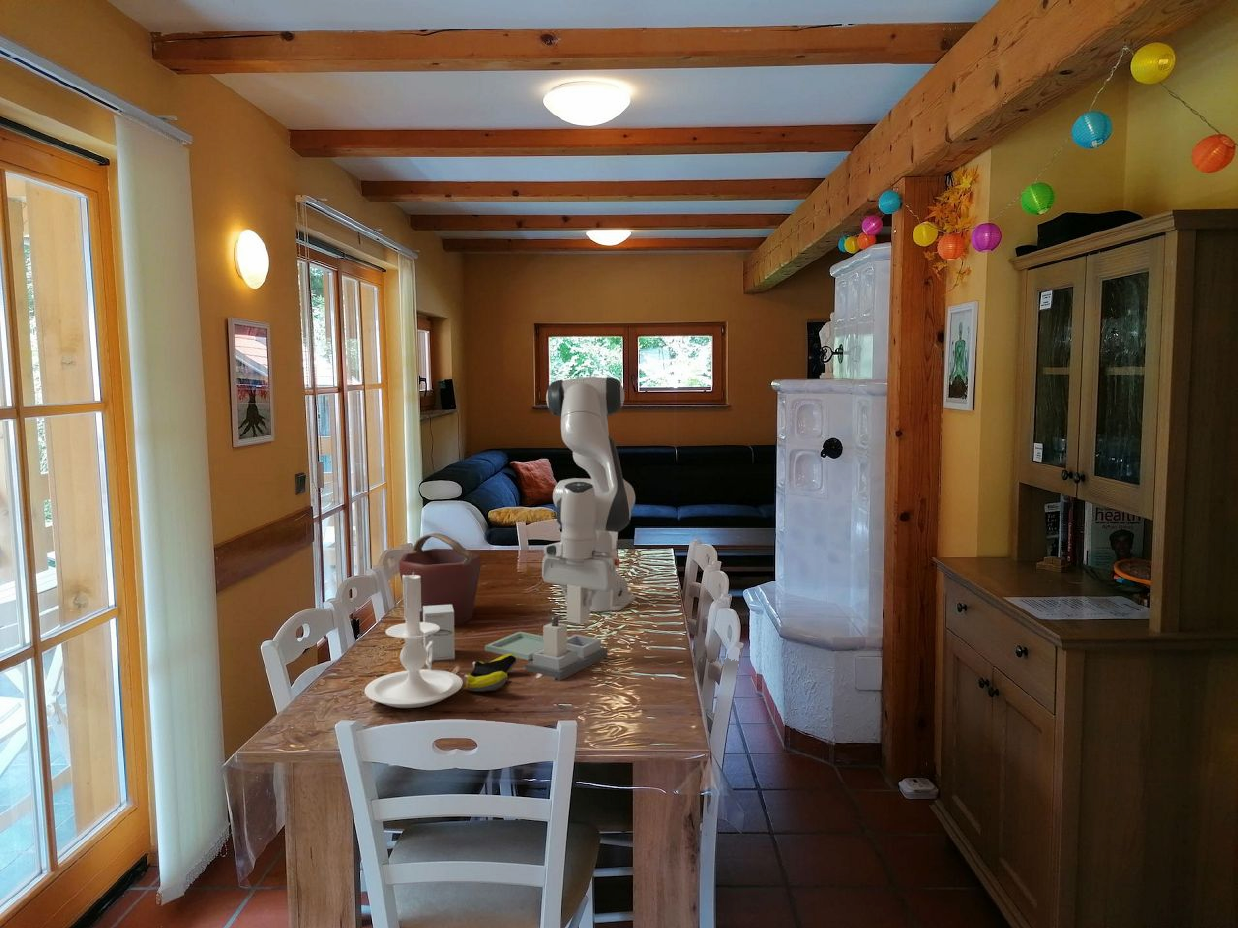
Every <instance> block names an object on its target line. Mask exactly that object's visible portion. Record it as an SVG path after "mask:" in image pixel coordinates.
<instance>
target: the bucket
mask: <svg viewBox="0 0 1238 928" xmlns="http://www.w3.org/2000/svg"><path fill="white" fill-rule="evenodd" d="M430 538H434V539H435V538H436V539H438V540H439V541H442V542H444V543H445V544H447V545H448V546H450V549H449V548H447V549H445V548H433V549H425V550H423V549H422V548H423V547H424V545H425V544H426V541H428V540H430ZM481 557H482V556H481V555H480V554H477V553H476V552H473V551H472V550H469V549H467V548H465V547H464V546H462V544H461V543H460V542H458V541H457V540H455V539H453V538H452V537H450V536H447V535H445V534H442V533H437V532H435V533H429V534H428V533H427V534H425V535H423V536H421V537H419V538H418V539H417V540H416V541H415V543H414V545H413V546H412V552H409V553H408V552H407V553H404V554H403V555H402V557H401V558H400V559H399V561H398V566H399V567H398V568H399V569H398V570H399V571H398V572H399V577H400V579H401V580H400V581H401V584H402V586H403V577H402V575H418V576H421V577H420V580H421V609H422V611H420V622H423V606H435V605H451V604H452V606H453V610H454V626H456V627H459V626H461V625H463V624H465V623H466V621H467V620H469V619H471V620H472V617H473V612H474V605H475V601H476V595H477V594H476V593H477V588H478V584H479V580H480V579H479V578H480V573H481V567H482V565H481V564H482V563H481V561H482V559H481ZM413 573H414V574H413ZM469 621H470V620H469ZM464 622H465V623H464ZM467 622H468V621H467ZM462 623H463V624H462ZM460 624H461V625H460ZM458 625H459V626H458Z"/></svg>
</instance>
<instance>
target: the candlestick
mask: <svg viewBox="0 0 1238 928" xmlns="http://www.w3.org/2000/svg"><path fill="white" fill-rule="evenodd" d="M413 574H414V573H413ZM402 577H403V585H402V597H403V619H404V620H405V622H404V623H398V624H395V625H392V626H390V627H388V628H387V629H386V630H385V631H384V632H385V634H386V635H387V636H389V637H393V638H398V639H403V640H404V645H403V647H402V649H401V651H400V654H399V660H400V663H401V665H402V666H403V667H404V669H405V670H402V671H396V672H392V673H388V674H386V675H385V674H384V675H382V676H380V677H378V678H375V679H374V680H372V681H370V682H369V683H368V684H367V685H366V687H365V688H364V695H365V696H366V697H367V698H368V699H370V700H371V701H375V702H377V703H380V704H383V705H386V706H389V707H392V708H393V707H394V708H397V709H398V708H399V709H412V708H415V709H416V708H422V707H427V706H430V705H434V704H436V703H439V702H441V701H443V700H445V699H447V698H448V697H450V696H452V695H454V694H455V693H457V692H458V691H459V690H460V689H461V688H462V686H463V684H464V682H463V679H462V678H461V677H460V676H459V675H458V674H455V673H454V672H453V673H452V672H451V671H446V670H442V669H440V670H439V669H432V663H433V662H432V659H433V641H430V642H429V644H428V645H427V646H426V649H425V647H424V644H423V642H422V640H423V637H424V636H428V635H431V634H434V633H436V632H438V631H439V630H440V627H439V626H438V625H436V624H433V623H428V622H420V611H422V609H421V580H420V577H421V576H418V575H402ZM428 656H429V657H428ZM424 665H426V666H427V668H424V669H423V667H424Z"/></svg>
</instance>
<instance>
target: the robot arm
mask: <svg viewBox="0 0 1238 928" xmlns="http://www.w3.org/2000/svg"><path fill="white" fill-rule="evenodd" d="M548 385H549V386H548V387H547V388H548V389H547V391H546V395H545V396H546V398H545V401H546V405H547V407H548V410H549V412H550V413H551V414H552V415H553V416H554V417H560V434H561V439H562V442H563V443H564V445H565V446H566V447H567V448H568V449H570V451H572V458H573V461H574V462H575V463H576V465H577V466H578V467H580V468H582V469H583V470H585V472H587V474H588V475H589V476H590V478H583V477H581V478H576V477H572V478H567V479H566V478H565V479H562V480H559V482H557V483H556V484H555V487H554V488H553V492H552V500H553V504H554V506H555V507H556V523H558V525H559V526H561V533H560V541H557V542H554V543H551V544H547V545H545V546H544V547H543V554H544V556H543V558H542V563H541V577H542V580H543V581H544V582H545V583H547V584H555V585H560V587H561V591H562V593H563V595H564V600H565V601H564V603H565V604H567V585H570V586H576V587H581V588H584V589H587V593H589V594H588V596H587V598H586V599H583V602H584V603H583V605H584V606H586V607H590V612H606V611H607V612H608V611H620V610H622V609H624V608H625V607H627V606H628V605H629V604H630V603H632V602H634V601H635V600H636V599H637V597H636V595H634V594H632V593H629V586H628V584H629V583H628V581H627V579H625V578H624V577H623V576H622V575H621V574H619V573H618V572H617V571H616V569H617V568H616V566H619V565H620V564H621V560H620V559H619V558H615V557H614V556H613V537H612V534H611V533H610V532H612V533H614V532H615V533H619V532H621V531H622V530H624V529H625V528H626V527H627V526H628V525H629V524H630V522H631V517H632V510H633V508H634V506H635V503H636V493H635V490H634V488H633V486H632V485H631V484H630V483H629V482H628V481H627V480H625V479H624V478H623V474H622V467H621V465H620V458H619V453H618V450H617V445H616V443H615V441H614V438H613V437H611V436H610V434H609V433H610V432H609V422H608V417H607V415H608V416H609V417H612V416H613V415H614V414H617V413H619V412H620V411H621V410H622V408H623V407H622V406H623V404H624V401H625V390H624V387H623V385H622V383H621V381H620V380H619V378H615V377H609V376H607V377H597V376H592V377H591V376H589V377H587V376H586V377H577V378H569V379H564V380H563V379H558V380H554V381H552V382H551V383H550V384H548Z"/></svg>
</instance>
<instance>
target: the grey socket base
mask: <svg viewBox="0 0 1238 928" xmlns="http://www.w3.org/2000/svg"><path fill="white" fill-rule="evenodd" d="M542 633H543V634H542V636H543V649H542V650H540V651H538V652H536V653H533V658H532V661H530V662H528V663H526V664H525V671H526V672H529V673H530V672H531V673H535V674H538V675H542V676H548V677H550V678H554V679H555V680H554V681H558V680H559V682H560V681H563V680H565V679H567V678H569V677H570V676H573V675H574V674H577V673H578V672H580V671H582V670H584V669H586V668H588V667H591V666H592V665H593V664H595V663H598V662H600V661H602V660H604V659H605V658H607V657H608V648H605V647H602V645H601V644H602V641H601V639H600V638H595V637H590V636H586V635H580V634H574V635H572V636H569V637H568V625H567V624H566V623H559V616H556V615H553V616H551V622H550V623H547V624H545V625H543V626H542Z"/></svg>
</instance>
